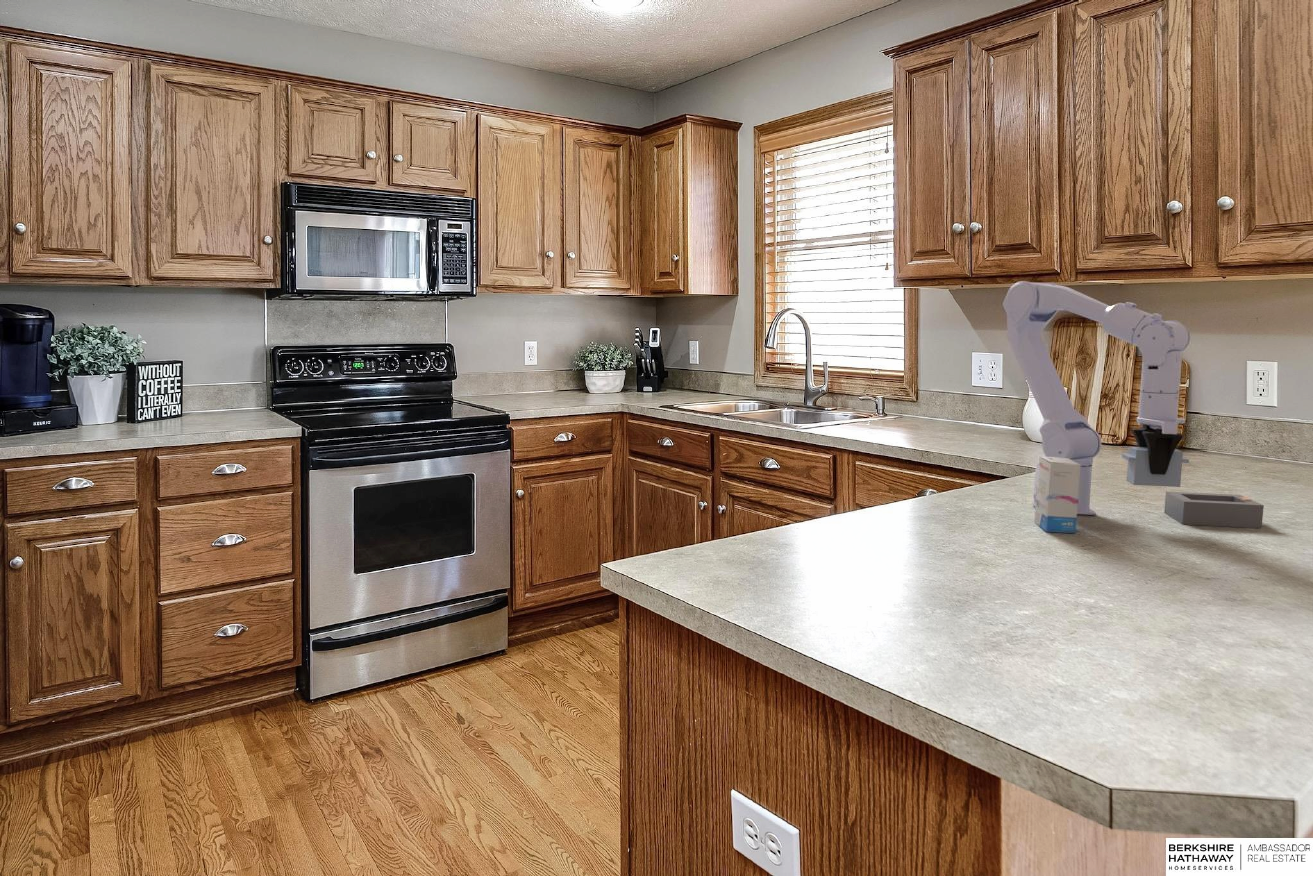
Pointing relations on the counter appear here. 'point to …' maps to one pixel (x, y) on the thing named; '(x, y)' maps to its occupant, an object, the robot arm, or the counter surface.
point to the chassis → (1213, 509)
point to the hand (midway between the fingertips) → (1153, 471)
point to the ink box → (1057, 494)
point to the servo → (1141, 471)
